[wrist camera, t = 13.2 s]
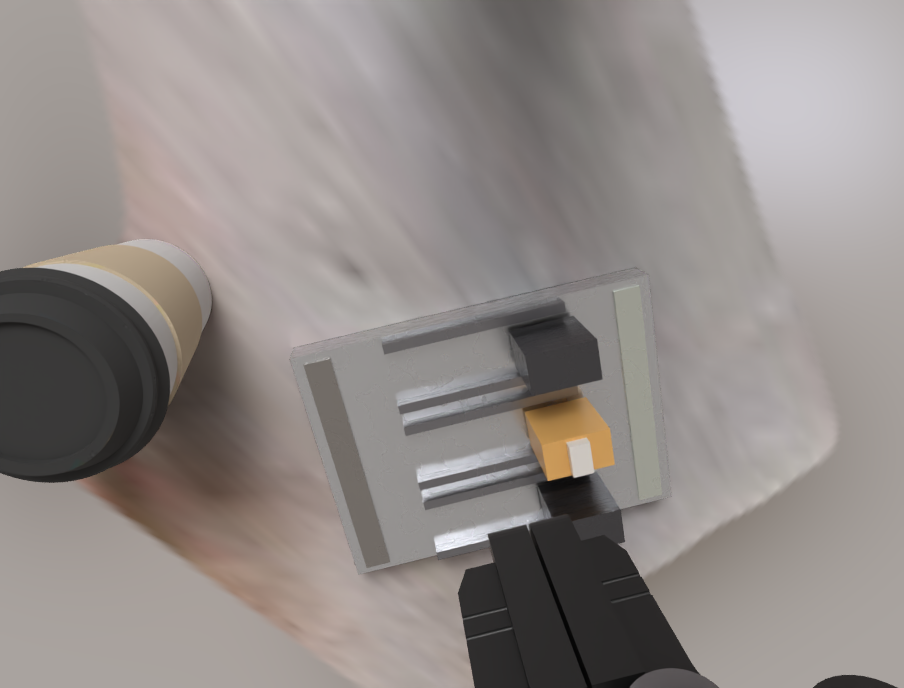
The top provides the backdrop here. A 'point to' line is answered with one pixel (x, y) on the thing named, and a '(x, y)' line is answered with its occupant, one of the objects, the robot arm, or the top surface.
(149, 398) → the coffee cup
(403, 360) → the breaker panel
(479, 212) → the top surface
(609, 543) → the robot arm
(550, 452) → the toggle
